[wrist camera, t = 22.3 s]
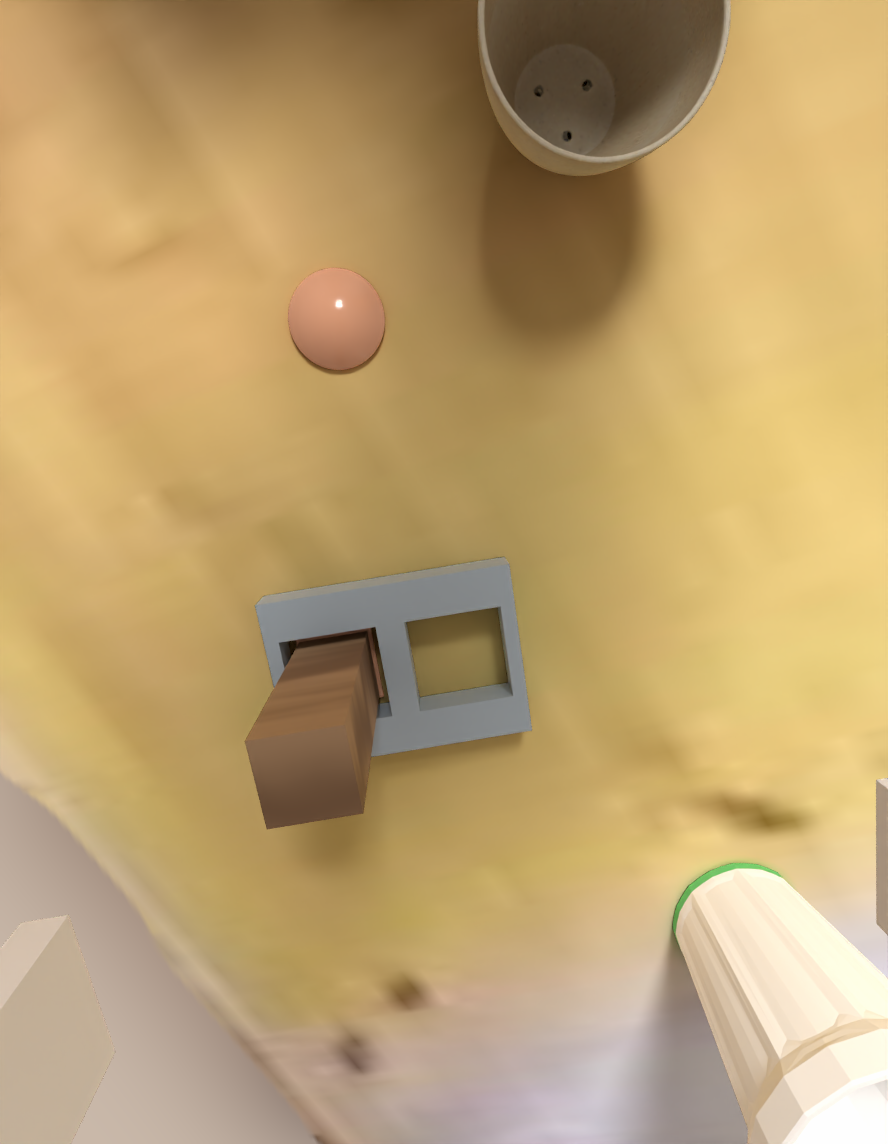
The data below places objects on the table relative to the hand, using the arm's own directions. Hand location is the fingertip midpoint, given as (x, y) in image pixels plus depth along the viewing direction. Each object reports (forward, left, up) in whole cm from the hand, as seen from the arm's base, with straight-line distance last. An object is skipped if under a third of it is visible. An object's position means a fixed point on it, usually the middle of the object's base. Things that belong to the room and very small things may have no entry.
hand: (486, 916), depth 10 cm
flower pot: (-22, +10, -27) cm, 36 cm away
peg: (+5, -7, -26) cm, 28 cm away
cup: (+27, +16, -27) cm, 41 cm away
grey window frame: (+5, -3, -27) cm, 27 cm away
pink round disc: (-14, -3, -27) cm, 30 cm away
